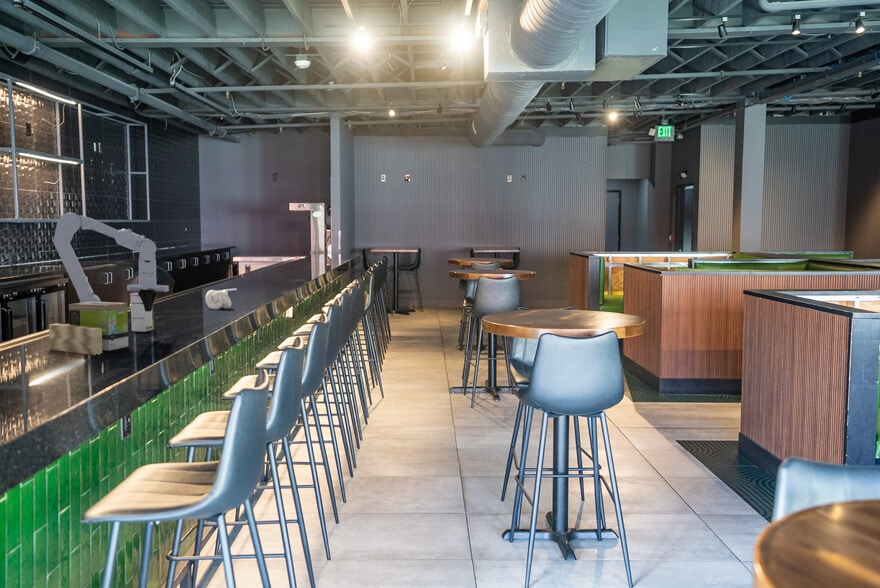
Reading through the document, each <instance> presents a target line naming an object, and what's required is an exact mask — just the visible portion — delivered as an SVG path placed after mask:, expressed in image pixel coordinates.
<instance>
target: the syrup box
mask: <svg viewBox="0 0 880 588" xmlns="http://www.w3.org/2000/svg"><path fill="white" fill-rule="evenodd" d="M130 315H131V317H130V318H131V319H130V320H131V331H132V332H145V333H146V332H149V331H153V330H154V329H155V326H154V324H155V323H154V322H155V321H154V305H153V306H152V311H149V312H146V311H145V308H144V305H143V302H142V300H141V298H140V297H139V295H138V292H134V293H133V292H132V293H130Z"/></svg>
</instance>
